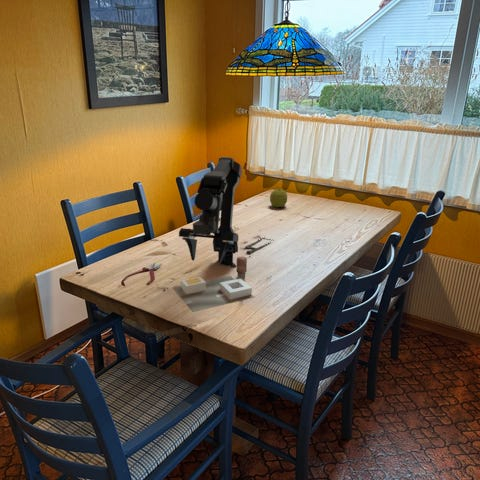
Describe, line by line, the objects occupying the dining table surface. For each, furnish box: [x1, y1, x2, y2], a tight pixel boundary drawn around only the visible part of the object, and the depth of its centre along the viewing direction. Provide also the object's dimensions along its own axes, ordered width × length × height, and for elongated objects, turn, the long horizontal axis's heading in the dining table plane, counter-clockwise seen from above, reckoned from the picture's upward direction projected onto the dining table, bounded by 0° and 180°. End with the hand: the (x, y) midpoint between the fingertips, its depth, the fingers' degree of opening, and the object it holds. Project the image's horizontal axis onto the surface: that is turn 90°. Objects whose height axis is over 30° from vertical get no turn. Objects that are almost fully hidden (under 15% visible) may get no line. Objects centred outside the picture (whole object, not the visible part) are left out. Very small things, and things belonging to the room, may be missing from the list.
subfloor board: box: [172, 275, 255, 313], centre depth 149 cm, size 18×22×2 cm
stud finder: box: [180, 276, 206, 294], centre depth 150 cm, size 5×7×3 cm
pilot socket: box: [220, 278, 253, 299], centre depth 149 cm, size 8×8×2 cm
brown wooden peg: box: [235, 256, 248, 280], centre depth 159 cm, size 4×4×9 cm
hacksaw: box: [240, 237, 272, 255], centre depth 195 cm, size 24×10×2 cm, turn 144°
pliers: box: [120, 262, 163, 286], centre depth 163 cm, size 12×20×3 cm, turn 166°
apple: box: [269, 188, 288, 208], centre depth 247 cm, size 10×10×11 cm
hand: (206, 261), depth 142 cm, fingers open, 9 cm apart
